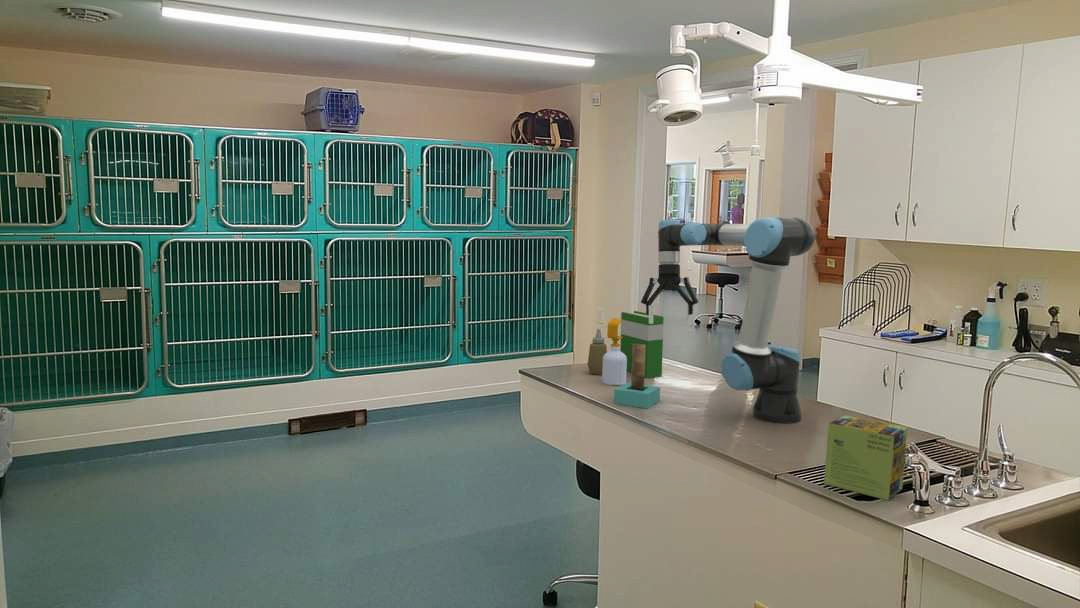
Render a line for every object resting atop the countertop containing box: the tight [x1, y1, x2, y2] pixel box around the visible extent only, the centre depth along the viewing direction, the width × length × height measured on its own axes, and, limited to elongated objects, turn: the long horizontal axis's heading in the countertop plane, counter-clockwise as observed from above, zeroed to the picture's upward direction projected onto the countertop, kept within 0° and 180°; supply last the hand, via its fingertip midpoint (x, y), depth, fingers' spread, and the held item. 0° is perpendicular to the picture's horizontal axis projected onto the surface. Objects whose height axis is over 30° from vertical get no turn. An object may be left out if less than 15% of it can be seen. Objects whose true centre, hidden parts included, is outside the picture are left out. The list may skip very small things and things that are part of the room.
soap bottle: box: [601, 317, 628, 386], centre depth 281 cm, size 9×9×25 cm
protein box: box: [823, 415, 908, 501], centre depth 180 cm, size 10×15×16 cm
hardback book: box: [620, 310, 665, 379], centre depth 300 cm, size 18×7×24 cm, turn 31°
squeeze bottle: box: [587, 328, 608, 376], centre depth 297 cm, size 8×8×18 cm
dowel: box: [630, 344, 646, 391], centre depth 254 cm, size 4×4×20 cm
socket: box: [613, 382, 661, 409], centre depth 255 cm, size 12×12×5 cm
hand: (669, 323), depth 264 cm, fingers open, 13 cm apart
